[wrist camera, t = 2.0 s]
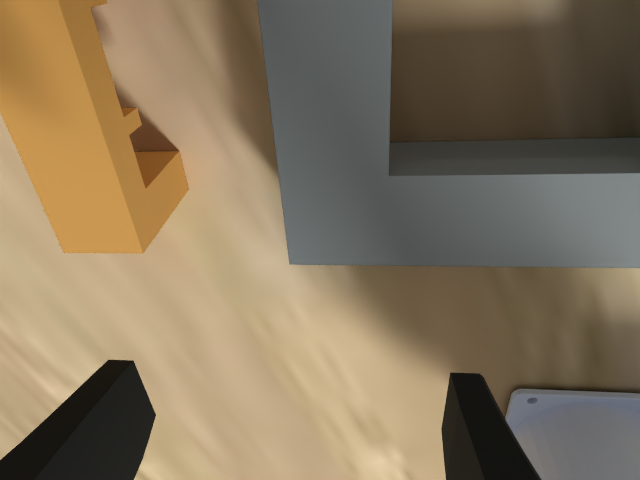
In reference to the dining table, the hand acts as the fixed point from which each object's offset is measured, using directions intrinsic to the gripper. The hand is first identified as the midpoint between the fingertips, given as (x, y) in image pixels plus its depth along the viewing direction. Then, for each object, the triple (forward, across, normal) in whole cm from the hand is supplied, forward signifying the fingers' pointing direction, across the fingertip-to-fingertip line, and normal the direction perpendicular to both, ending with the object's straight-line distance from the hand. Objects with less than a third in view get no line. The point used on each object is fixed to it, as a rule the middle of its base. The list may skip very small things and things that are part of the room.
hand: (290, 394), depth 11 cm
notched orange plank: (+11, +8, -6) cm, 14 cm away
